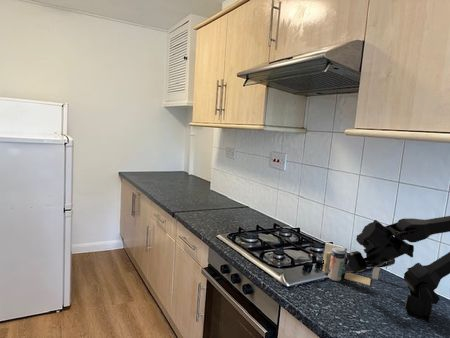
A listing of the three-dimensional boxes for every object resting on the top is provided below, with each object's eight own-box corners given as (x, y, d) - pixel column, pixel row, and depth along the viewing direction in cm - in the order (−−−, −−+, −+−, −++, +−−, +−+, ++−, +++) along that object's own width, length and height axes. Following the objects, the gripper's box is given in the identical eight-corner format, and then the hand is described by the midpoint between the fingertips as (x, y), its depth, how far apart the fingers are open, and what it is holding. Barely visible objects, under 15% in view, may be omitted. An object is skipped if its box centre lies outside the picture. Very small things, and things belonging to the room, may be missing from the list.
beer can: (328, 274, 122) (333, 244, 120) (341, 277, 120) (346, 248, 118) (326, 279, 118) (331, 248, 116) (339, 283, 116) (345, 252, 114)
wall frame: (377, 278, 123) (381, 256, 121) (377, 280, 121) (381, 258, 120) (322, 262, 132) (326, 242, 130) (322, 264, 130) (325, 243, 129)
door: (340, 268, 127) (343, 249, 126) (344, 270, 125) (347, 251, 124) (322, 271, 122) (325, 252, 121) (326, 274, 121) (329, 254, 119)
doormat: (370, 279, 121) (370, 278, 121) (369, 286, 116) (370, 285, 116) (345, 272, 125) (346, 271, 125) (344, 278, 120) (344, 277, 120)
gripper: (393, 225, 109) (361, 243, 120) (355, 229, 100) (325, 248, 112) (410, 256, 103) (375, 272, 115) (372, 264, 95) (339, 280, 106)
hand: (354, 267), depth 112 cm, fingers open, 9 cm apart
